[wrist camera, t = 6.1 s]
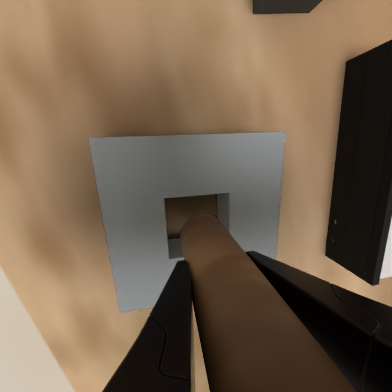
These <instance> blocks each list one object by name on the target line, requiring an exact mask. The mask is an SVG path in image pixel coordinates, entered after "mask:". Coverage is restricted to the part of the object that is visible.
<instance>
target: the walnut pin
mask: <svg viewBox="0 0 392 392" xmlns="http://www.w3.org/2000/svg"><path fill="white" fill-rule="evenodd" d="M180 239H181V245H182V250H183V255H184V260H186V261H187V264H188V267H189V271H190V275H191V290H192V301H193V306H194V312H195V317H196V322H197V327H198V332H199V337H200V342H201V348H202V353H203V358H204V363H205V368H206V373H207V378H208V384H209V389H210V392H357V391H356V389H355V388H354V387H353V386H352V384H351V383H350V382H349V381H348V379H347V378H346V377H345V376H344V374H343V373H342V372H341V371H340V369H339V368H338V367H337V366H336V364H335V363H334V362H333V361H332V360H331V358H330V357H329V356H328V355H327V353H326V352H325V351H324V350H323V348H322V347H321V346H320V345H319V343H318V342H317V341H316V340H315V338H314V337H313V336H312V335H311V333H310V332H309V331H308V330H307V328H306V327H305V326H304V325H303V323H302V322H301V321H300V320H299V318H298V317H297V316H296V315H295V314H294V312H293V311H292V310H291V309H290V307H289V306H288V305H287V304H286V302H285V301H284V300H283V299H282V297H281V296H280V295H279V294H278V292H277V291H276V290H275V289H274V287H273V286H272V285H271V284H270V282H269V281H268V280H267V279H266V277H265V276H264V275H263V274H262V272H261V271H260V270H259V269H258V268H257V266H256V265H255V264H254V263H253V261H252V260H251V259H250V258H249V256H248V255H247V254H246V253H245V251H244V250H243V249H242V248H241V246H240V245H239V244H238V243H237V241H236V240H235V239H234V238H233V236H232V235H231V234H230V233H229V231H228V230H227V229H226V228H225V226H224V225H223V224H222V223H221V222H220V220H219V219H217V218H216V217H214V216H212V215H209V214H200V215H196V216H194V217H192V218H190V219H189V220H188V221H187V222H186V223H185V224H184V226H183V228H182V230H181V234H180Z"/></svg>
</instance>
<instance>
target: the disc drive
mask: <svg viewBox="0 0 392 392" xmlns="http://www.w3.org/2000/svg"><path fill="white" fill-rule="evenodd" d="M325 256H327V257H328V258H330V259H332V260H333V261H335V262H336V263H338V264H339V265H341V266H342V267H344V268H346V269H347V270H349V271H350V272H352V273H353V274H355V275H356V276H358V277H359V278H361V279H363V280H364V281H366V282H367V283H369V284H370V285H372V286H373V285H377V284H379V280H380V279H382V278H387V277H391V276H392V40H390V41H388V42H386V43H384V44H382V45H380V46H378V47H375V48H373V49H371V50H369V51H367V52H365V53H363V54H361V55H359V56H357V57H355V58H353V59H351V60H349V61H347V62H346V68H345V77H344V86H343V96H342V105H341V114H340V123H339V133H338V142H337V151H336V161H335V170H334V179H333V188H332V198H331V207H330V216H329V226H328V235H327V244H326V253H325Z"/></svg>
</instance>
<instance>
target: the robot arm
mask: <svg viewBox="0 0 392 392" xmlns="http://www.w3.org/2000/svg"><path fill="white" fill-rule="evenodd" d="M245 253H246V254H247V255H248V256H249V258H250V259H251V260H252V261H253V263H254V264H255V265H256V266H257V268H258V269H259V270H260V271H261V272H262V274H263V275H264V276H265V277H266V279H267V280H268V281H269V282H270V284H271V285H272V286H273V287H274V289H275V290H276V291H277V292H278V294H279V295H280V296H281V297H282V299H283V300H284V301H285V302H286V304H287V305H288V306H289V307H290V309H291V310H292V311H293V312H294V314H295V315H296V316H297V317H298V318H299V320H300V321H301V322H302V323H303V325H304V326H305V327H306V328H307V330H308V331H309V332H310V333H311V335H312V336H313V337H314V338H315V340H316V341H317V342H318V343H319V345H320V346H321V347H322V348H323V350H324V351H325V352H326V353H327V355H328V356H329V357H330V358H331V360H332V361H333V362H334V363H335V364H336V366H337V367H338V368H339V369H340V371H341V372H342V373H343V374H344V376H345V377H346V378H347V379H348V381H349V382H350V383H351V384H352V386H353V387H354V388H355V389H356V391H357V392H392V307H390V306H388V305H385V304H382V303H380V302H377V301H374V300H372V299H369V298H366V297H364V296H361V295H358V294H356V293H353V292H351V291H349V290H346V289H344V288H341V287H339V286H336V285H334V284H330V283H329V282H327V281H325V280H322V279H320V278H317V277H315V276H313V275H310V274H308V273H306V272H303V271H301V270H298V269H296V268H294V267H291V266H289V265H286V264H284V263H282V262H279V261H277V260H275V259H272V258H270V257H268V256H265V255H263V254H260V253H258V252H256V251H246V252H245ZM102 392H195V363H194V331H193V308H192V290H191V275H190V271H189V267H188V264H187V261H186V260H180V261H177V263H176V265H175V267H174V269H173V271H172V273H171V275H170V277H169V278H168V280H167V282H166V284H165V286H164V288H163V290H162V292H161V294H160V296H159V298H158V300H157V302H156V304H155V306H154V308H153V309H152V311H151V313H150V316H149V317H148V319H147V321H146V323H145V325H144V327H143V328H142V330H141V332H140V334H139V336H138V337H137V339H136V341H135V342H134V344H133V346H132V347H131V349H130V350H129V352H128V353H127V355H126V357H125V358H124V360H123V361H122V363H121V364H120V366H119V367H118V369H117V370H116V372H115V373H114V375H113V376H112V378H111V379H110V381H109V382H108V384H107V385H106V387H105V388H104V390H103V391H102Z"/></svg>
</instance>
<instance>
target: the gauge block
mask: <svg viewBox="0 0 392 392" xmlns="http://www.w3.org/2000/svg"><path fill="white" fill-rule="evenodd" d="M88 140H89V146H90V151H91V157H92V163H93V168H94V174H95V179H96V185H97V190H98V196H99V201H100V207H101V212H102V218H103V224H104V229H105V235H106V240H107V246H108V251H109V257H110V262H111V268H112V274H113V279H114V285H115V290H116V296H117V301H118V307H119V312H120V313H124V312H130V311H136V310H142V309H147V308H153V307H154V306H155V304H156V302H157V300H158V298H159V296H160V294H161V292H162V290H163V288H164V286H165V284H166V282H167V280H168V278H169V277H170V275H171V273H172V271H173V269H174V267H175V265H176V263H177V261H180V260H184V255H183V250H182V245H181V239H180V238H174V239H168V235H167V223H166V212H165V201H164V198H173V197H185V196H197V195H209V194H217V211H218V219H219V220H220V222H221V223H222V224H223V225H224V226H225V228H226V229H227V230H228V231H229V233H230V234H231V235H232V236H233V238H234V239H235V240H236V241H237V243H238V244H239V245H240V246H241V248H242V249H243V250H244V251H245V252H246V251H256V252H258V253H260V254H263V255H265V256H268V257H270V258H272V259H275V260H276V250H277V237H278V223H279V210H280V197H281V184H282V171H283V158H284V145H285V132H259V133H227V134H194V135H162V136H130V137H97V138H88Z"/></svg>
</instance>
